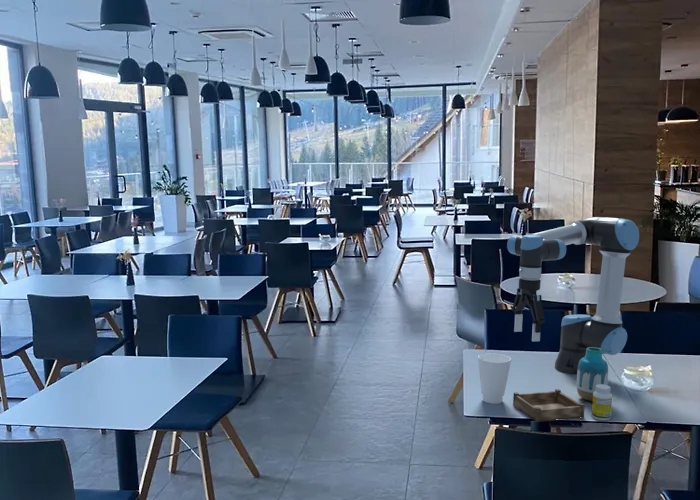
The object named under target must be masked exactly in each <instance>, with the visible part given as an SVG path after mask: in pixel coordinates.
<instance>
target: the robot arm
mask: <svg viewBox="0 0 700 500" xmlns="http://www.w3.org/2000/svg"><path fill="white" fill-rule="evenodd" d="M639 241H640V231H639V227H638V226H637V225H636V223H635V222H634V221H633V220H631V219H627V218H617V217H608V216H607V217H604V216H592V217H588V218H584V219H583V218H582V219H578V220H574V221H572V222H570V223H569V224H567V225H564V226H558V227H557V228H556V227H555V228H553V229H552V228H551V229H548V230H547V229H546V230H544V231H540V232H535V233H530V234H525V235H521V234H518V235H516V234H514V235H512V236H510V237H509V238H508V239H507V244H506V248H507V251H508V252H509V253H510V254H512V255H515V256H516V257H517V256H519V258H520V259H519V270H518V272H519V274H518V275H519V279H518V288H516V294H515V298H514V301H513V305H512V308H511V311H512V312H513V313H514V327H513V332H514V333H517V332H520V333H521V332H523V320H524V319H523V317H524V316H523V314H524V312H523V311H524V309H525V308H526V306H527V307H529V310H530V312H531V315H532V320H533V321H532V329H531V332H532V333H531V341H532V342H540V341H541V330H542V327H541V326H542V324H544V323H546V320H545V314H544V309H543V303H542V300H543V299H542V298H543V297H542V295H541V294H537V292H538V291H540V290H541V282H542V281H541V278H542V265H543V264H542V262H547V261H557V260H561V259H564V257H565V256H566V254H567V246H568V245H572V244H574V245H576V246H578V245H584V244H586V245H593V246H599V250H598V251H599V253H600V254H601V255H602V259H601V260H602V261H601V268H600V269H601V270H600V277H599V285H598V295H597V301H596V309H595V310H596V311H595V314H594V315H593V316H592V315H589V314H568V315H565V316H563V317H562V319H561V325H560V327H561V328H560V345H559V351H558V354H557V356H556V359H555V360H554V368H555V369H556V370H558V371H559V372H562V373H567V374H570V375H571V374H572V375H577V370H578V364H579V361H580V359H581V358H583V357H585V355H586V349H587V348H588V347H596V348H600V349H602V355H609V356H615V355H617V354H619V353H620V352H621V351H622V350H623V349H624V347H625V345H626V343H627V342H628V341H627V340H628V333H627V329H625V328H624V327H623V321H622V319H621V318H620V310H621V302H622V293H623V285H624V275H625V269H626V259H627V258H628V256H630V255H631V253H632V251H633V250H634V249H636V247H638V244H639Z"/></svg>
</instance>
